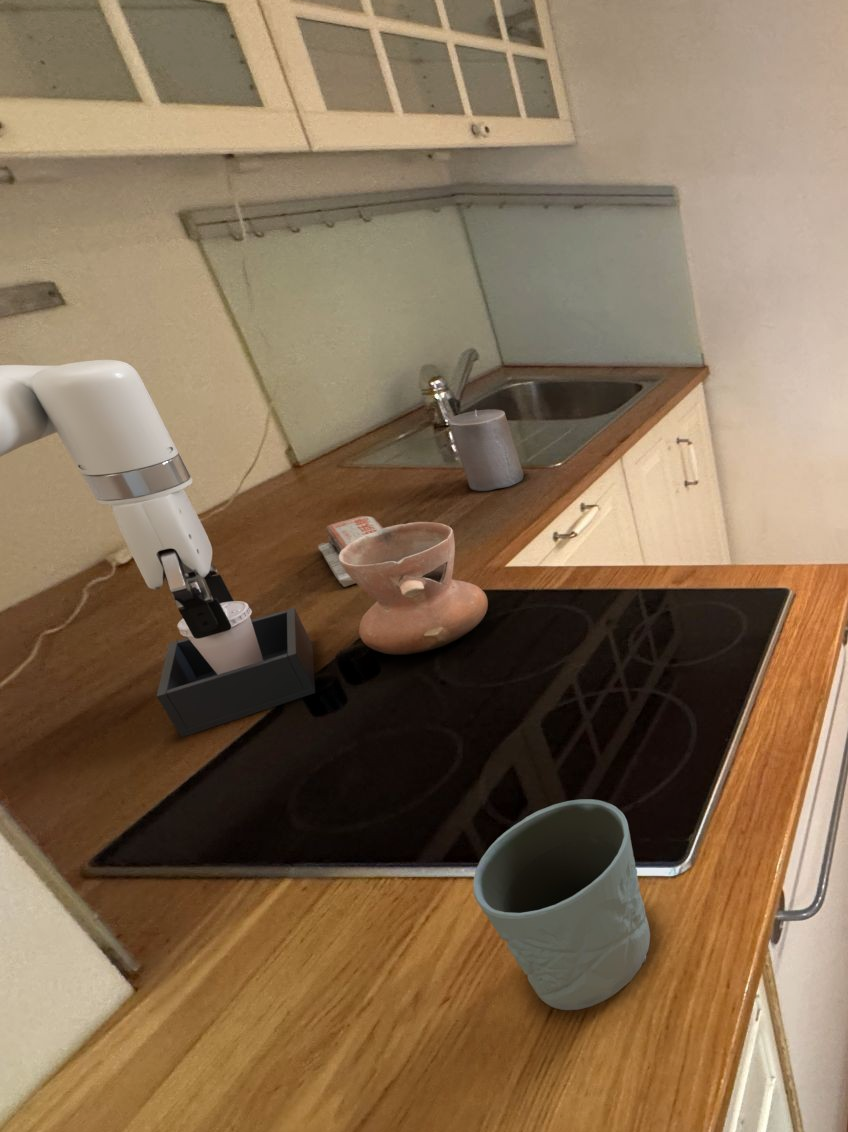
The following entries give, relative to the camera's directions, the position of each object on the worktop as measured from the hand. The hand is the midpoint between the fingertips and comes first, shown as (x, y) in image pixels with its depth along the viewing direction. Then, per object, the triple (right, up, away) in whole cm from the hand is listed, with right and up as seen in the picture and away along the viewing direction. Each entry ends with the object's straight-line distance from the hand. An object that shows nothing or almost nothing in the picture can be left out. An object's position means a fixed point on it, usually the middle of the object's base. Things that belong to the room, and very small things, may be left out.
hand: (215, 619), depth 90 cm
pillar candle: (-6, +20, +64) cm, 67 cm away
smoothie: (0, -8, +4) cm, 9 cm away
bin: (0, -9, +4) cm, 10 cm away
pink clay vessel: (+16, -4, +14) cm, 22 cm away
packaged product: (-9, +6, +35) cm, 36 cm away
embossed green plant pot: (+58, -24, -29) cm, 69 cm away
